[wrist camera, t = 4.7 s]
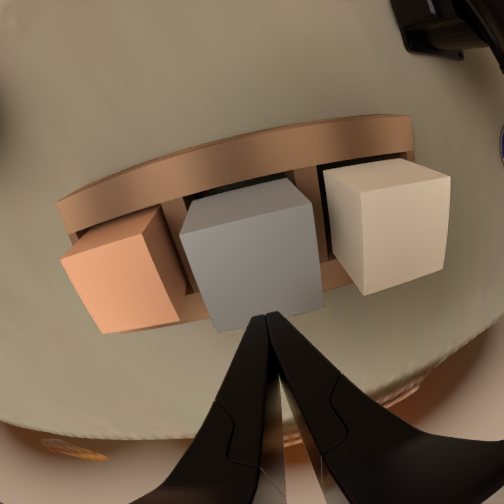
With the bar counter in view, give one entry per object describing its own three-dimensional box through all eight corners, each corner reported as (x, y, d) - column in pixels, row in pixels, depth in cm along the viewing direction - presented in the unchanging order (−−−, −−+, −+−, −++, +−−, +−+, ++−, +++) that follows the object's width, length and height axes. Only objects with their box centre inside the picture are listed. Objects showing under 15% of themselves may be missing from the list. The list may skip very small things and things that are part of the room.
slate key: (286, 177, 14) (311, 203, 10) (300, 260, 16) (323, 307, 12) (192, 200, 14) (179, 235, 10) (217, 280, 16) (216, 332, 12)
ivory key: (399, 158, 14) (450, 176, 10) (401, 234, 16) (442, 268, 12) (322, 170, 14) (360, 192, 10) (332, 252, 16) (363, 296, 12)
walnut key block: (381, 114, 16) (410, 116, 12) (389, 243, 20) (412, 264, 17) (81, 187, 16) (55, 202, 13) (132, 304, 21) (121, 333, 17)
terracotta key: (162, 203, 15) (141, 233, 11) (188, 275, 18) (179, 320, 14) (93, 225, 15) (60, 259, 11) (123, 290, 18) (102, 333, 14)
